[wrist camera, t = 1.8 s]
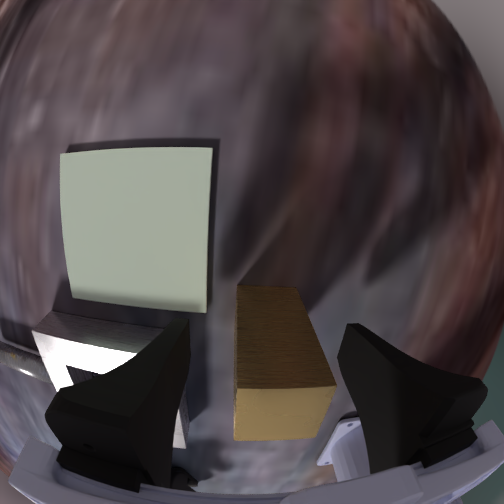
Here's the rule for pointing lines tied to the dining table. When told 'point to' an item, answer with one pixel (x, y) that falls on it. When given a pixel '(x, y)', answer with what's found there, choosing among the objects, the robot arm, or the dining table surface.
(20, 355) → the block
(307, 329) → the key
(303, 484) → the dining table surface
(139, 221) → the mat
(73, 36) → the dining table surface
